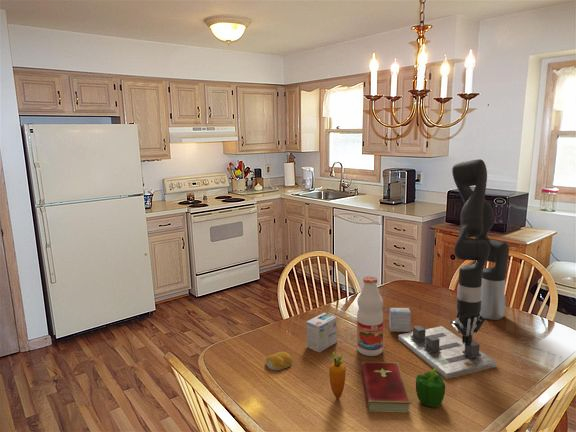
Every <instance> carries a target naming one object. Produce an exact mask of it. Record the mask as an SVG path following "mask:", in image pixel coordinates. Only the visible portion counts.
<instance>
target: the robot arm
mask: <svg viewBox="0 0 576 432" xmlns="http://www.w3.org/2000/svg"><path fill="white" fill-rule="evenodd" d="M451 170H452V171H451V172H452V177H453V181H454V184H455V185H456V189H457V190H458V193H459V195H460V197H461V199H462V202H463V206H462V209H461V211H460V222H459V232H458V237H457V239H456V241H455V244H454V249H453V252H454V256H455V257H456V258H457V259H458V260H462V261H474V262H473V263H472V264H467V265H462V266H461V267H459V271H458V283H457V284H458V285H457V290H456V291H457V293H456V295H457V296H456V310H457V313H456V316H455V317H456V318H455V319H454V320H453V319H452V320H451V321H450V324H451V326H452V327H453V328H454V329H455V331H456V333H458V334H460V335H461V339H462V342H463V344H465V345H466V346H468V345H471V343H472V340H473V335H474V334H475V333H476V334H477V333H478V331H479V330H480V329H481V327H482V325H483V324H484V323H485V321H486V319H487V320H492V321H493V320H494V321H496V320H497V321H498V320H502V319H503V318H504V317H505V314H506V301H507V300H506V299H507V295H506V294H505V290H506V289H505V287H506V275H507V271H508V261H509V256H510V255H509V254H510V246H509V244H508V243H507V242H506V241H501V240H495V239H490V238H489V237H488V233H489V232H490V231H491V229H492V228H493V226H494V224H495V220H496V217H495V213H494V209H493V207H492V205H491V203H490V202H489V201H488V200H487V199H485V196H486V189H487V183H488V182H487V181H488V170H487V165H486V163H485V161H484V160H483V159H481V158H480V159H472V160H467V161H461V162H457V163H455V164H454V165H453V166H452V169H451ZM471 187H474V190H473V189H472V188H471ZM486 262H490V263H493V264H494V266H493V267H485V265H486Z"/></svg>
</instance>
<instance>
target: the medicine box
mask: <svg viewBox="0 0 576 432" xmlns="http://www.w3.org/2000/svg"><path fill="white" fill-rule="evenodd" d="M388 312H389V314H388V315H389V316H388V319H389V320H388V324H389V325H388V327H389V331H390V332H391V333H392V332H393V333H401V332H402V333H404V332H405V333H410V332H411V319H412V315H411V314H412V312H411V310H410V308H409V307H389V311H388Z"/></svg>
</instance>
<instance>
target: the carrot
mask: <svg viewBox="0 0 576 432" xmlns="http://www.w3.org/2000/svg"><path fill="white" fill-rule="evenodd" d="M331 355H332V357H333V363H331V364H330V366H329V368H328V370H329V371H328V372H329V373H328V374H329V376H328V377H329V383H330V388H331V391H332V394H333V396H334V397H335V398H336V400H339V399H340V398H341V396H342V395H343V393H344V389H345V383H346V372H347V371H346V366H345V365H344V364H343V363H344V362H343V361H342V359H343V354H342V353H341V354H339V355H338V356H337V357H336V353H335V352H332V353H331Z"/></svg>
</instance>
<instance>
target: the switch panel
mask: <svg viewBox="0 0 576 432" xmlns="http://www.w3.org/2000/svg"><path fill="white" fill-rule="evenodd" d="M425 329H426V328H425ZM411 335H413V331H410V332H405V333H401V334H398V338H397V339H398V341H399V342H401V343H402V344H403V345H404V346H405V347H407V348H408V349H409V350H410V351H412V352H413V353H414V354H415V355H416V356H418V357H419V358H420V359H421V360H422V361H424V362H425V363H426V364H427V365H428V366H430V367H431V368H432V370H433V369H434V368H435V369H437V371H436V372H437V373H438V374H439V375H441V377H442V378H444V379H446V380H448V379H452V378H457V377H461V376H465V375H469V374H474V373H477V372H481V371H482V372H483V371H484V370H485V371H487V370H489V369H493V368H497V361H496V360H495V359H494V358H492V357H490V356H489V355H488V354H487V353H484V352H483V351H481V350H480V349H479V353H480V354H481V356H479V357H474V358H469V357H468V356H467V355H465V354H464V353H462V351H465V344H463V342H462V337H459V336H458V335H457V334H455V333H454V332H452V331H450V330H449V329H448V328H445V327H444V326H443V325H442V326H441V325H440V326H436V327H431V328H427V329H426V332H425V337H426V336H430V335H434V336H436V337H437V338H439V339H440V341H439V347H440V348H441V350H440V351H435V352H430V351H428V350H427V349H426V348H424V345H426V340H424V341H419V342H417V341H415V340H414V339H413V338H411Z"/></svg>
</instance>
